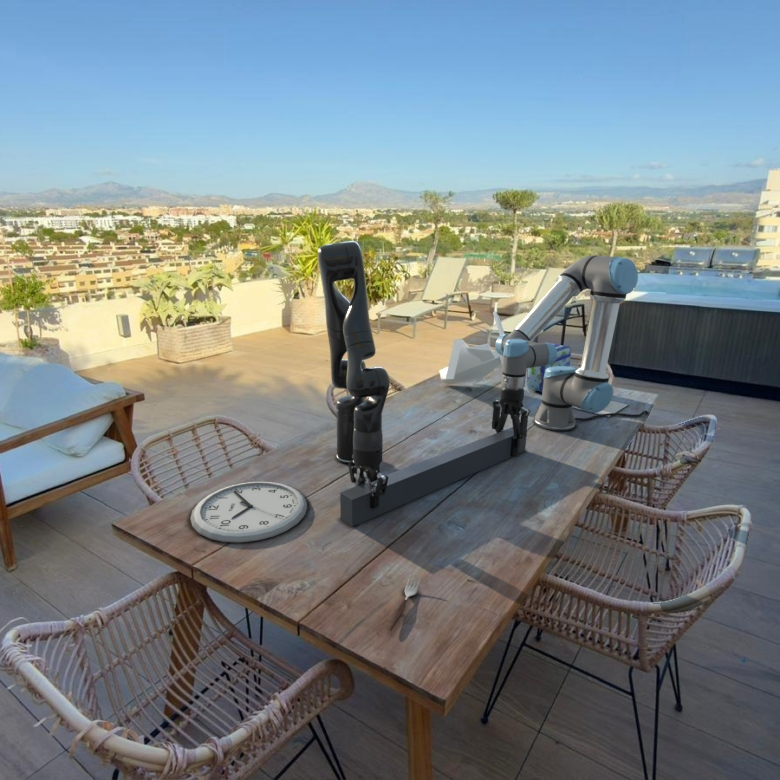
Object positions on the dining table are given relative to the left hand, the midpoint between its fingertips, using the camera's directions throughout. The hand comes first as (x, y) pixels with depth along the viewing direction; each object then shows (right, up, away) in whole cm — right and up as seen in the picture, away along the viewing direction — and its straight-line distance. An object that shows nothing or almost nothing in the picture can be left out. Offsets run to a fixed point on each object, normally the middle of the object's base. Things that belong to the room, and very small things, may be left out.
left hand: (367, 503), depth 138 cm
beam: (+23, +3, +20) cm, 30 cm away
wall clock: (-31, -2, +1) cm, 31 cm away
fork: (+9, -14, -33) cm, 37 cm away
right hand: (+46, +9, +39) cm, 61 cm away
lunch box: (+81, +31, +113) cm, 143 cm away
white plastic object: (+48, +29, +105) cm, 119 cm away
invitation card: (+97, +23, +88) cm, 133 cm away
